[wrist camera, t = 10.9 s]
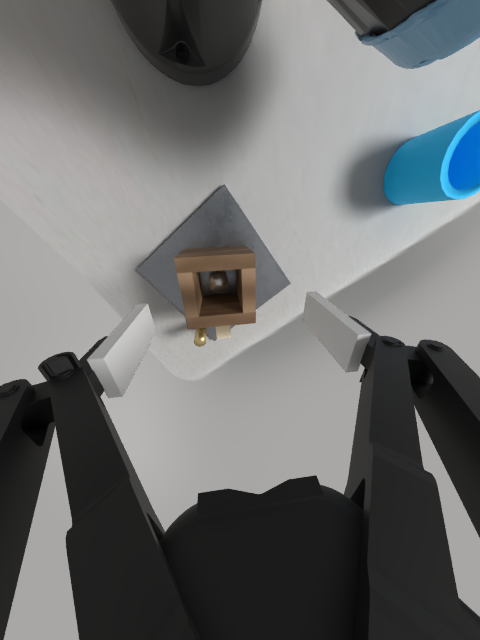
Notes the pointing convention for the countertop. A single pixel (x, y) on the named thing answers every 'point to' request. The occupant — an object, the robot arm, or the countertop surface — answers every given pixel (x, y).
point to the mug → (437, 164)
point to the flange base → (214, 231)
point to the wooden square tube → (217, 307)
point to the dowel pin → (200, 337)
